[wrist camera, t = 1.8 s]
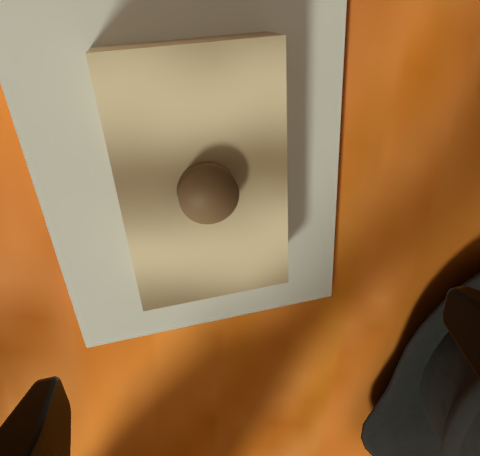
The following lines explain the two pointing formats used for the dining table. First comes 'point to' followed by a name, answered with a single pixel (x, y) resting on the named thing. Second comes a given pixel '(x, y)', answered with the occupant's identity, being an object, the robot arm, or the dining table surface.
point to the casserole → (428, 398)
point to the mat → (97, 160)
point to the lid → (198, 161)
